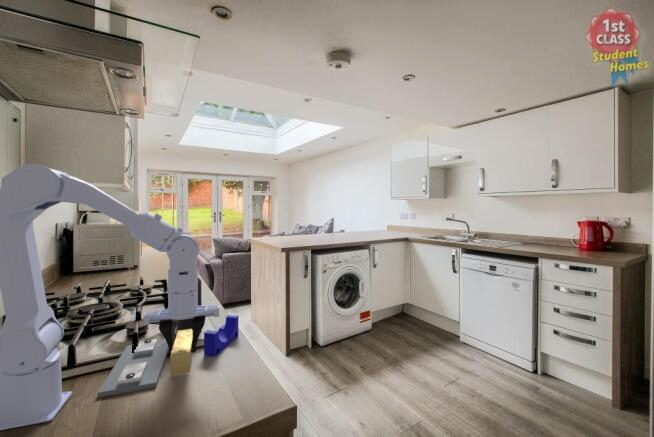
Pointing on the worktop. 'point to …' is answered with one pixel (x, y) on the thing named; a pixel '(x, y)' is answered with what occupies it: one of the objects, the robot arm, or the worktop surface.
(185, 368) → the link bar
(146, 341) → the mounting blocks
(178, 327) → the bottle
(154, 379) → the slate board
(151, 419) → the worktop surface
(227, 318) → the cable clip
